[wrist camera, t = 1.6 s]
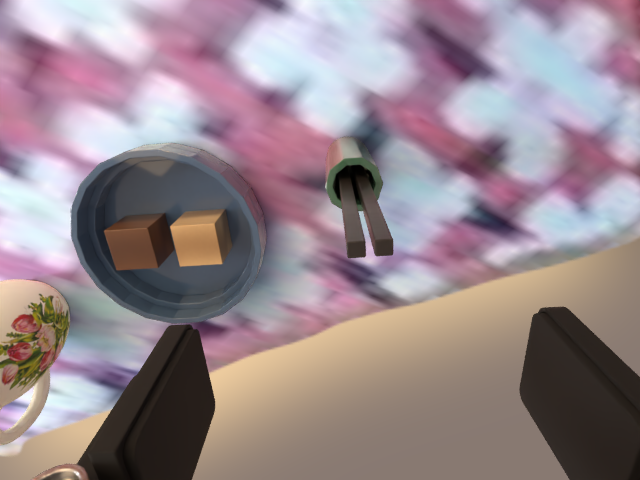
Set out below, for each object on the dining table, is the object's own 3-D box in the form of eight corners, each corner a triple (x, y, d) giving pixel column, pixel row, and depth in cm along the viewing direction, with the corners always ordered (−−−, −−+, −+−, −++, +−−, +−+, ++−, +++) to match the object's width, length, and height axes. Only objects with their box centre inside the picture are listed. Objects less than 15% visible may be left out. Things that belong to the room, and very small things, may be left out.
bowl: (71, 149, 35) (41, 157, 32) (253, 135, 35) (244, 142, 31) (122, 305, 42) (103, 327, 38) (276, 296, 41) (271, 318, 38)
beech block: (185, 211, 37) (169, 226, 33) (225, 208, 37) (214, 223, 33) (193, 248, 39) (179, 266, 35) (232, 246, 38) (222, 264, 35)
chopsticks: (336, 154, 35) (346, 242, 16) (358, 153, 35) (393, 239, 16) (336, 163, 35) (347, 258, 17) (358, 161, 35) (393, 256, 17)
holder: (324, 138, 35) (323, 160, 25) (367, 134, 34) (382, 155, 25) (327, 178, 36) (327, 213, 27) (368, 175, 36) (383, 209, 27)
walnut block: (125, 215, 37) (103, 230, 34) (165, 213, 37) (147, 227, 33) (136, 252, 39) (116, 270, 35) (174, 250, 39) (158, 268, 35)
